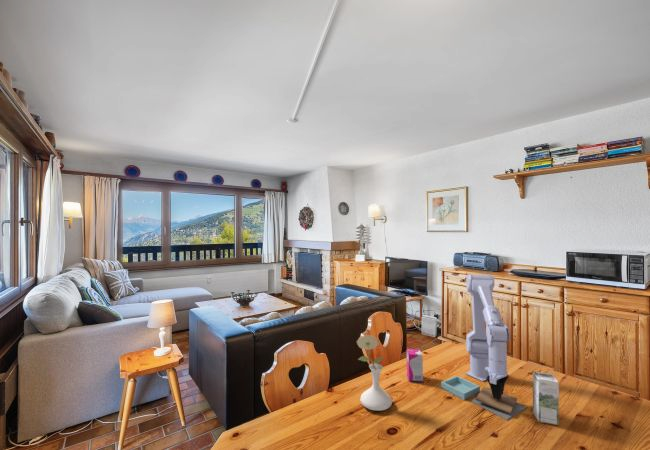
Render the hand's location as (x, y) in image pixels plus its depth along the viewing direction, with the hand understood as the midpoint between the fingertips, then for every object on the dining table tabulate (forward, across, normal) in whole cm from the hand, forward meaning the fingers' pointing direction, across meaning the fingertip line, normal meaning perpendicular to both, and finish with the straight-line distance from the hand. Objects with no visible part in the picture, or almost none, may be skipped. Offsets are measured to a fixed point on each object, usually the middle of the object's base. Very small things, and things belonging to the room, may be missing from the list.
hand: (497, 396), depth 109 cm
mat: (+3, 0, 0) cm, 3 cm away
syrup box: (+3, -1, +14) cm, 14 cm away
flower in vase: (+3, +29, -34) cm, 45 cm away
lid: (+2, 0, 0) cm, 2 cm away
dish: (+3, -1, -13) cm, 14 cm away
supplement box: (+3, +2, -31) cm, 31 cm away
